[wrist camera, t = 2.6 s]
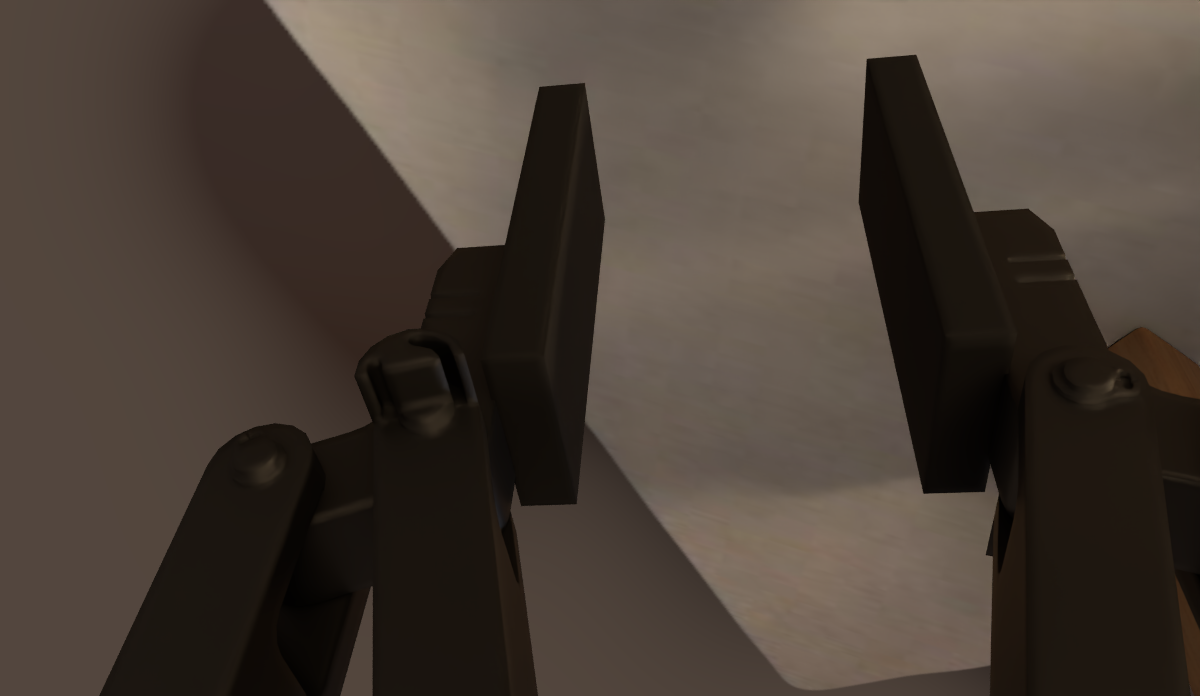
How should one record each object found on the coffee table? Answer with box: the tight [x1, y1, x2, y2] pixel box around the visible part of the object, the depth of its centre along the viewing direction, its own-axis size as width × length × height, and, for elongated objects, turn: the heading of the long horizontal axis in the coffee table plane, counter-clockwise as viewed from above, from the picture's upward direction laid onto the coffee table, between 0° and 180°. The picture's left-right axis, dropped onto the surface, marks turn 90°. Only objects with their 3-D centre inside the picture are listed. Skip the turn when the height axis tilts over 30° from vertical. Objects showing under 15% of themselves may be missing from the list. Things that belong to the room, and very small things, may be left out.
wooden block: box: [1108, 327, 1200, 696], centre depth 45 cm, size 9×4×18 cm, turn 146°
